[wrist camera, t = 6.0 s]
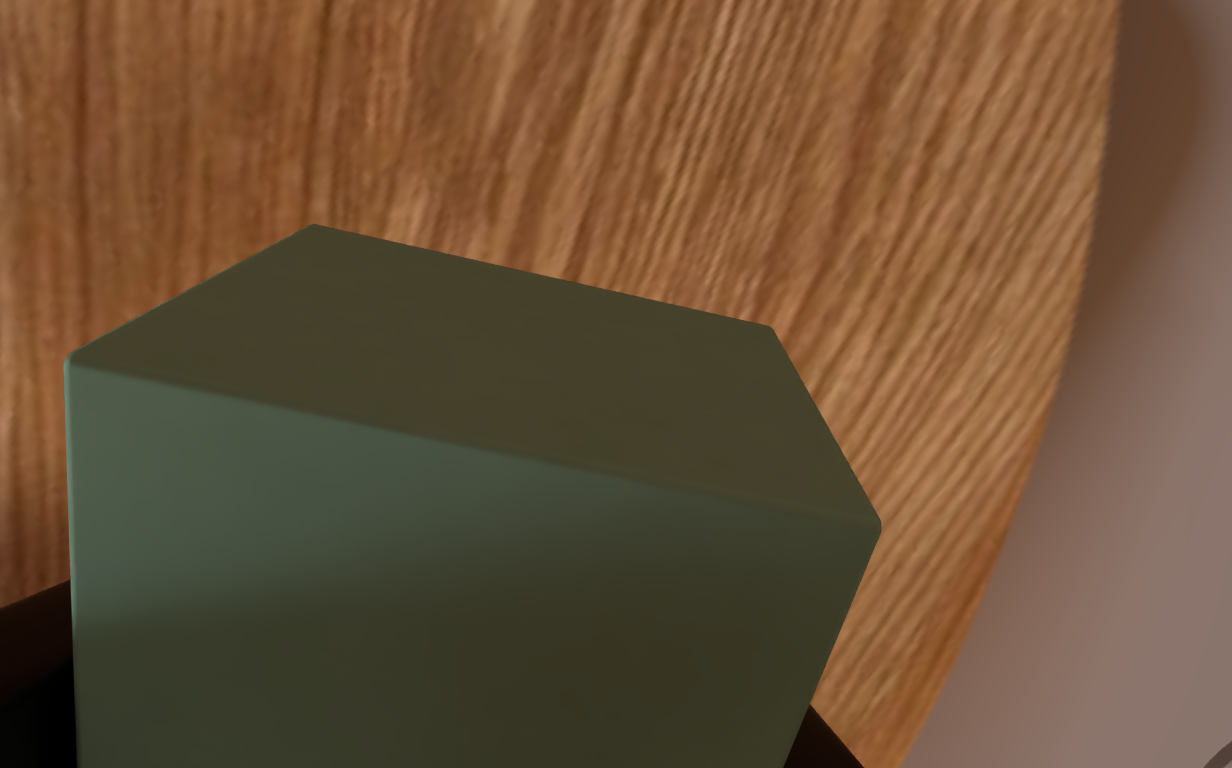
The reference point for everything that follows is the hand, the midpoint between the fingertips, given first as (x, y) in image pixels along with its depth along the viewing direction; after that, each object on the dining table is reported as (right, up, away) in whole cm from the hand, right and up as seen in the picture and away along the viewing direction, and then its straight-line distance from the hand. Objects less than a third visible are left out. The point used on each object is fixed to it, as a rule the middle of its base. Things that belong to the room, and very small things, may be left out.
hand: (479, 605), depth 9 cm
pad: (0, 0, +1) cm, 1 cm away
